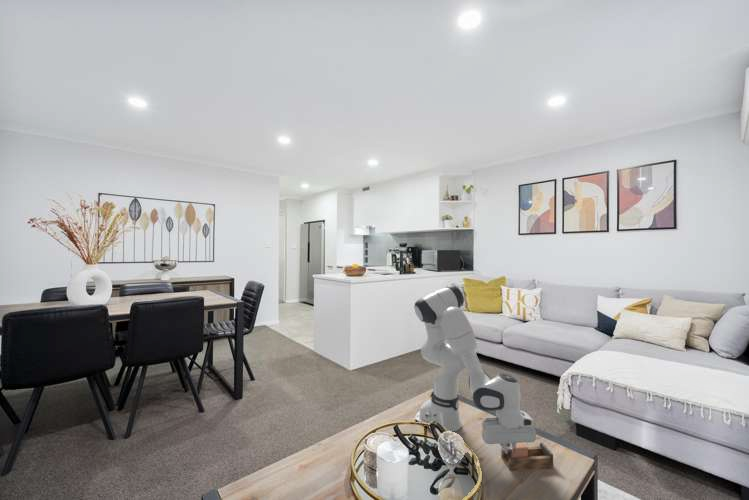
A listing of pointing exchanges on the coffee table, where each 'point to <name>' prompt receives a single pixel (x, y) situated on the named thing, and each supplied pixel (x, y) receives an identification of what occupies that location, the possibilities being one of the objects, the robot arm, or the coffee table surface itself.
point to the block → (520, 451)
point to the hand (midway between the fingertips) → (508, 452)
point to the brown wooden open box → (530, 459)
